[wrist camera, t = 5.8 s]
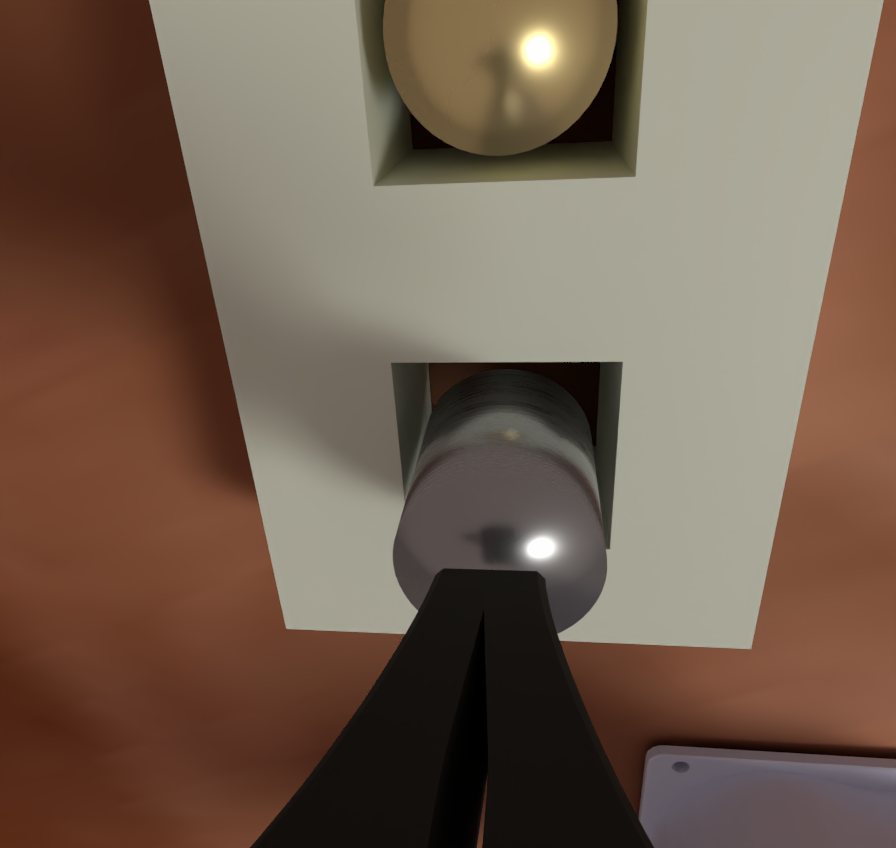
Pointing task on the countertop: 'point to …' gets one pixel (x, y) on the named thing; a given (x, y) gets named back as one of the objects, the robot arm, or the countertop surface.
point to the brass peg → (498, 67)
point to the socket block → (523, 284)
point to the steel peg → (506, 492)
